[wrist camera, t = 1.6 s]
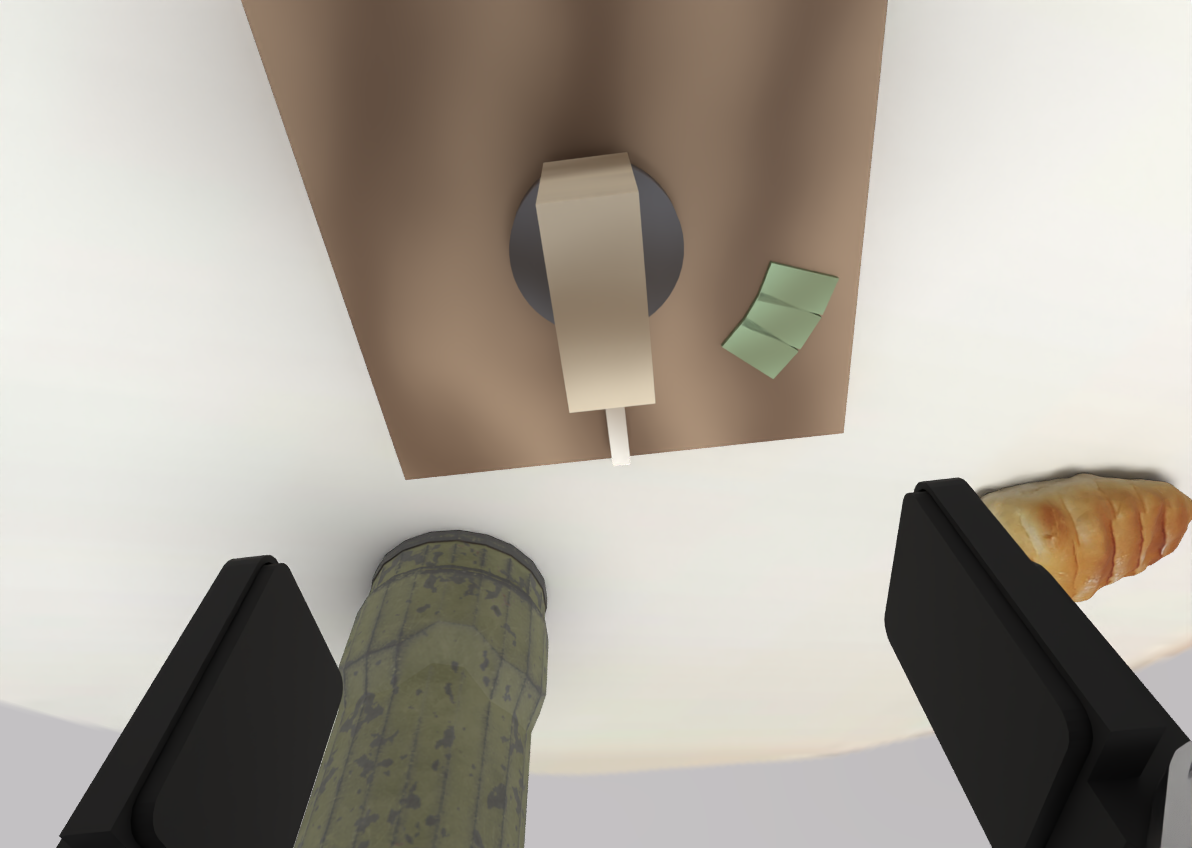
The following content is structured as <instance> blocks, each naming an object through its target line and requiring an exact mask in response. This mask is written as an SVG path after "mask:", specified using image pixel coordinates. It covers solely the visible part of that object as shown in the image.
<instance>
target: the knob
mask: <svg viewBox="0 0 1192 848" xmlns="http://www.w3.org/2000/svg"><path fill="white" fill-rule="evenodd" d="M509 257H510V265H511V269H512V273H513V277H514V279H515V282H516V284H517V286H518V288H519V290H520V292H521V293H522V295H523V297H524V298H525V299H526V301H527V302H528V303H529V305H530V306H531V307H532V308H533V309H534V310H535V311H536V312H537V313H539V314H540V315H541V316H542V317H544V318H545V319H546V320H548V321H550V322H551V323H553V324H555V327H556V333H557V339H558V345H559V351H560V358H561V364H562V370H563V376H564V382H565V388H566V394H567V400H568V407H569V413H574V412H583V411H592V410H601V409H606V416H607V424H608V432H609V440H610V448H611V456H612V463H613V466H621V465H630V464H631V462H630V453H629V444H628V435H627V426H626V416H625V407H628V406H637V405H646V404H655V391H654V378H653V366H652V353H651V341H650V328H649V317H650V316H651V315H652V314H654V313H655V312H656V311H657V310H658V309H659V308H660V307H661V306H662V305H663V304H664V302H665V301H666V300H667V299H668V297H669V296H670V294H671V293H672V291H673V289H674V288H675V285H676V283H677V281H678V279H679V276H680V272H681V269H682V265H683V258H684V239H683V232H682V228H681V224H680V221H679V219H678V216H677V214H676V211H675V209H674V206H673V204H672V202H671V200H670V199H669V197H668V195H667V193H666V192H665V191H664V189H663V188H662V187H661V186H660V184H659V183H658V182H657V181H656V180H655V179H654V178H652V177H651V176H650V175H649V174H647V173H646V172H645V171H643V170H642V169H640V168H638V167H636V166H635V165H633V164H631V163H630V160H629V156H628V153H627V152H624V153H616V154H608V155H600V156H592V157H583V158H576V159H568V160H561V161H553V162H545V163H543V168H542V173H541V177H540V178H539V179H538V180H537V181H536V182H535V183H534V184H533V185H532V187H531V188H530V189H529V190H528V191H527V193H526V194H525V196H524V198H523V199H522V201H521V203H520V205H519V207H518V210H517V212H516V216H515V219H514V222H513V226H512V230H511V235H510V242H509Z"/></svg>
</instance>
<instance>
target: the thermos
mask: <svg viewBox="0 0 1192 848" xmlns="http://www.w3.org/2000/svg"><path fill="white" fill-rule="evenodd" d="M546 609H547V594H546V588H545V582H544V579H543V577H542V575H541V574H540V572H539V571H538V569H537V568H536V566H535V564H534V563H533V561H531V560H530V559H529V558H528V557H526V556H525V555H524V554H523V553H521V552H520V551H519V550H518V549H516V548H515V547H514V546H512V545H510V544H507V543H505V542H503V541H500V540H498V539H496V538H493V537H491V536H489V535H484V534H478V533H472V532H466V531H460V530H457V531H442V532H430V533H427V534H424V535H421V536H418V537H415V538H412V539H409V540H406V541H404V542H403V543H401V544H400V545H399V546H397V547H396V548H395V549H393V550H392V551H390V552H389V553H388V554H386V556H385V557H384V559H383V560H382V562H381V564H380V565H379V567H378V569H377V570H376V572H375V575H374V578H373V580H372V588H371V591H370V594H369V596H368V597H367V599H366V600H365V602H364V604H363V605H362V607H361V608H360V610H359V612H358V613H357V616H356V619H355V622H354V625H353V628H352V630H351V633H350V636H349V639H348V642H347V645H346V648H345V651H344V653H343V656H342V659H341V662H340V665H339V671H340V673H341V676H342V680H343V694H342V699H341V702H340V705H339V711H338V714H337V717H336V720H335V723H334V726H333V729H332V732H331V735H330V738H329V742H328V745H327V748H326V751H325V754H324V757H323V760H322V763H321V766H320V769H319V772H318V775H317V778H316V781H315V785H314V787H313V790H312V793H311V797H310V800H309V803H308V806H307V809H306V812H305V815H304V818H303V821H302V824H301V827H300V830H299V833H298V836H297V839H296V842H295V845H294V848H524V841H525V825H526V808H527V792H528V776H529V760H530V744H531V732H532V730H533V728H534V725H535V723H536V721H537V718H538V716H539V714H540V711H541V708H542V705H543V702H544V699H545V696H546V685H547V662H548V635H547V629H546V623H545V612H546Z"/></svg>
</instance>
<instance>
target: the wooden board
mask: <svg viewBox="0 0 1192 848" xmlns="http://www.w3.org/2000/svg"><path fill="white" fill-rule="evenodd" d="M241 1H242V4H243V7H244V10H245V13H246V16H247V19H248V22H249V25H250V28H251V30H252V33H253V36H254V39H255V42H256V45H257V48H258V51H259V54H260V57H261V60H262V63H263V66H264V68H265V71H266V74H267V77H268V80H269V83H270V86H271V89H272V92H273V95H274V98H275V101H276V103H277V106H278V109H279V112H280V115H281V118H282V121H283V124H284V127H285V130H286V133H287V136H288V138H289V141H290V144H291V147H292V150H293V153H294V156H295V159H296V162H297V165H298V168H299V171H300V173H301V176H302V179H303V182H304V185H305V188H306V191H307V194H308V197H309V200H310V203H311V206H312V209H313V211H314V214H315V217H316V220H317V223H318V226H319V229H320V232H321V235H322V238H323V241H324V244H325V246H326V249H327V252H328V255H329V258H330V261H331V264H332V267H333V270H334V273H335V276H336V279H337V281H338V284H339V287H340V290H341V293H342V296H343V299H344V302H345V305H346V308H347V311H348V314H349V317H350V319H351V322H352V325H353V328H354V331H355V334H356V337H357V340H358V343H359V346H360V349H361V352H362V354H363V357H364V360H365V363H366V366H367V369H368V372H369V375H370V378H371V381H372V384H373V387H374V389H375V392H376V395H377V398H378V401H379V404H380V407H381V410H382V413H383V416H384V419H385V422H386V425H387V427H388V430H389V433H390V436H391V439H392V442H393V445H394V448H395V451H396V454H397V457H398V460H399V462H400V465H401V468H402V471H403V474H404V477H405V480H410V479H419V478H428V477H438V476H447V475H456V474H466V473H475V472H484V471H494V470H503V469H512V468H522V467H531V466H540V465H550V464H559V463H568V462H578V461H587V460H596V459H606V458H612V456H611V448H610V440H609V432H608V424H607V416H606V409H601V410H592V411H583V412H574V413H569V407H568V400H567V394H566V388H565V382H564V376H563V370H562V364H561V358H560V351H559V345H558V339H557V333H556V327H555V324H553V323H551V322H550V321H548V320H546V319H545V318H544V317H542V316H541V315H540V314H539V313H537V312H536V311H535V310H534V309H533V308H532V307H531V306H530V305H529V303H528V302H527V301H526V299H525V298H524V297H523V295H522V293H521V292H520V290H519V288H518V286H517V284H516V282H515V279H514V277H513V273H512V269H511V265H510V257H509V242H510V235H511V230H512V226H513V222H514V219H515V216H516V212H517V210H518V207H519V205H520V203H521V201H522V199H523V198H524V196H525V194H526V193H527V191H528V190H529V189H530V188H531V187H532V185H533V184H534V183H535V182H536V181H537V180H538V179H539V178H540V177H541V173H542V168H543V163H545V162H553V161H561V160H568V159H576V158H583V157H592V156H600V155H608V154H616V153H624V152H627V153H628V156H629V160H630V163H631V164H633V165H635V166H636V167H638V168H640V169H642V170H643V171H645V172H646V173H647V174H649V175H650V176H651V177H652V178H654V179H655V180H656V181H657V182H658V183H659V184H660V186H661V187H662V188H663V189H664V191H665V192H666V193H667V195H668V197H669V199H670V200H671V202H672V204H673V206H674V209H675V211H676V214H677V216H678V219H679V221H680V224H681V228H682V232H683V239H684V258H683V265H682V269H681V272H680V276H679V279H678V281H677V283H676V285H675V288H674V289H673V291H672V293H671V294H670V296H669V297H668V299H667V300H666V301H665V302H664V304H663V305H662V306H661V307H660V308H659V309H658V310H657V311H656V312H655V313H654V314H652V315H651V316H650V317H649V328H650V341H651V353H652V366H653V378H654V391H655V404H646V405H637V406H628V407H625V416H626V426H627V435H628V444H629V453H630V456H634V455H643V454H652V453H662V452H671V451H680V450H690V449H699V448H709V447H718V446H727V445H737V444H746V443H755V442H765V441H774V440H783V439H793V438H802V437H811V436H821V435H830V434H839V433H843V432H844V423H845V413H846V403H847V393H848V383H849V374H850V364H851V354H852V344H853V335H854V325H855V315H856V305H857V296H858V286H859V276H860V266H861V256H862V247H863V237H864V227H865V217H866V208H867V198H868V188H869V178H870V168H871V159H872V149H873V139H874V129H875V120H876V110H877V100H878V90H879V81H880V71H881V61H882V51H883V41H884V32H885V22H886V12H887V2H888V0H241Z"/></svg>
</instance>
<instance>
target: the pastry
mask: <svg viewBox="0 0 1192 848" xmlns="http://www.w3.org/2000/svg"><path fill="white" fill-rule="evenodd" d="M980 499H981V500H982V501H983V503H984V504H985V505H986V506H987V507H988V509H989V510H990V511H991V512H992V513H993V515H994V516H995V517H996V518H997V520H998V521H999V522H1000V523H1001V524H1002V526H1003V527H1004V528H1005V529H1006V530H1007V532H1008V533H1009V534H1010V535H1011V537H1012V538H1013V539H1014V540H1015V541H1016V543H1017V544H1018V545H1019V546H1020V547H1021V549H1022V550H1023V551H1024V552H1025V554H1026V555H1027V556H1028V557H1029V558H1030V560H1031V561H1034V562H1036V563H1038V564H1040V565H1042V566H1043V567H1044V568H1045V569H1046V570H1047V571H1048V572H1049V573H1050V574H1051V575H1052V576H1053V577H1054V578H1055V579H1056V581H1057V582H1058V583H1059V584H1060V585H1061V587H1062V588H1063V589H1064V590H1065V591H1066V593H1067V594H1068V595H1069V596H1070V597H1071V599H1072V600H1073V601H1074V602H1081V601H1085V600H1088V599H1090V598H1091V597H1092V596H1093V595H1094V594H1095V592H1096V591H1097V590H1098V589H1100V588H1102V587H1103V586H1106V585H1109V584H1112V583H1114V582H1116V581H1118V580H1119V579H1121V578H1122V577H1127V576H1134V575H1136V574H1138V573H1140V572H1142V571H1144V570H1145V569H1146V567H1147V566H1149V565H1152V564H1153V563H1155V562H1157V561H1158V560H1160V559H1161V558H1163V557H1164V556H1166V555H1169V554H1170V553H1172V552H1173V551H1174V550H1175V549H1176V548H1177V547H1178V545H1179V543H1180V541H1181V539H1182V537H1183V535H1184V533H1185V532H1186V530H1187V527H1188V524H1189V522H1190V521H1191V520H1192V500H1191V499H1190V498H1189V497H1188V496H1186V495H1185V494H1183V493H1182V492H1180V491H1179V490H1178V489H1177V488H1175V487H1174V486H1173V485H1171V484H1169V483H1166V482H1161V481H1151V480H1143V479H1130V480H1127V479H1120V478H1108V477H1100V476H1096V475H1092V474H1085V473H1081V474H1077V475H1075V476H1073V477H1070V478H1058V479H1053V480H1048V481H1040V482H1030V483H1026V484H1021V485H1016V486H1012V487H1008V488H1003V489H1000V490H997V491H994V492H991V493H988V494H986V495H984V496H982V497H980Z"/></svg>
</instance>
